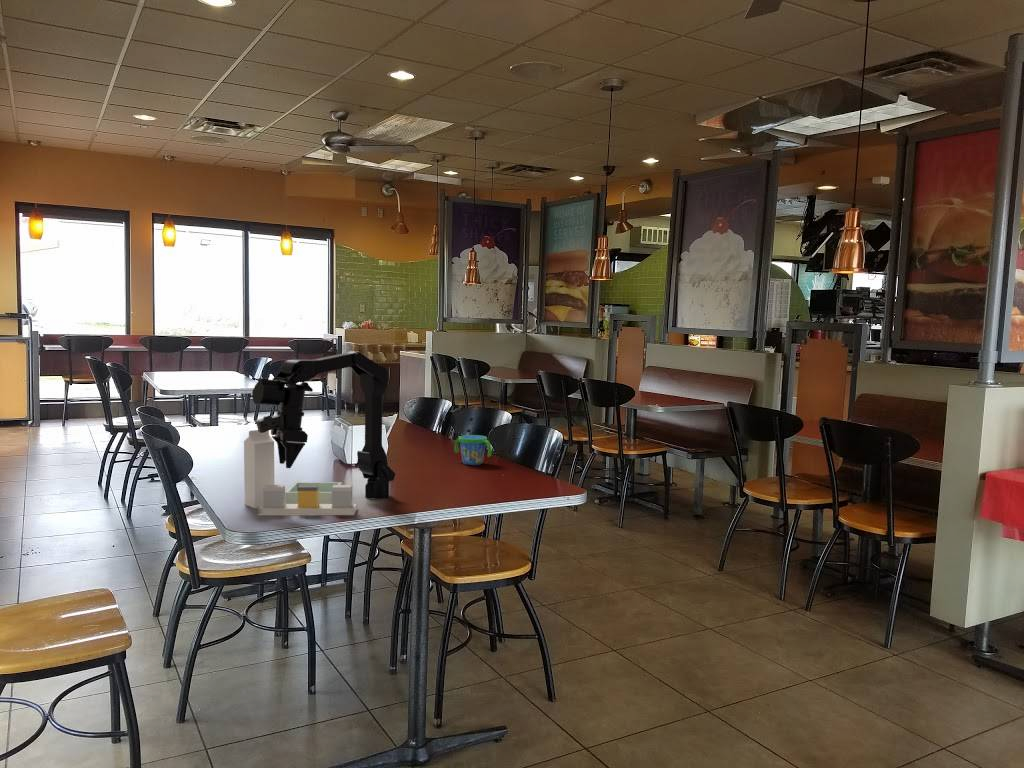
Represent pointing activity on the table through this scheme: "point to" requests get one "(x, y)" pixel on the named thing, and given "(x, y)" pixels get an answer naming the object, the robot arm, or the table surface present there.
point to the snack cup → (472, 448)
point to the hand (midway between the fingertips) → (284, 465)
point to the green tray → (324, 487)
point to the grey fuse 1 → (274, 496)
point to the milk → (257, 466)
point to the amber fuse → (308, 496)
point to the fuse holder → (307, 510)
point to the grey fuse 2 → (342, 496)
